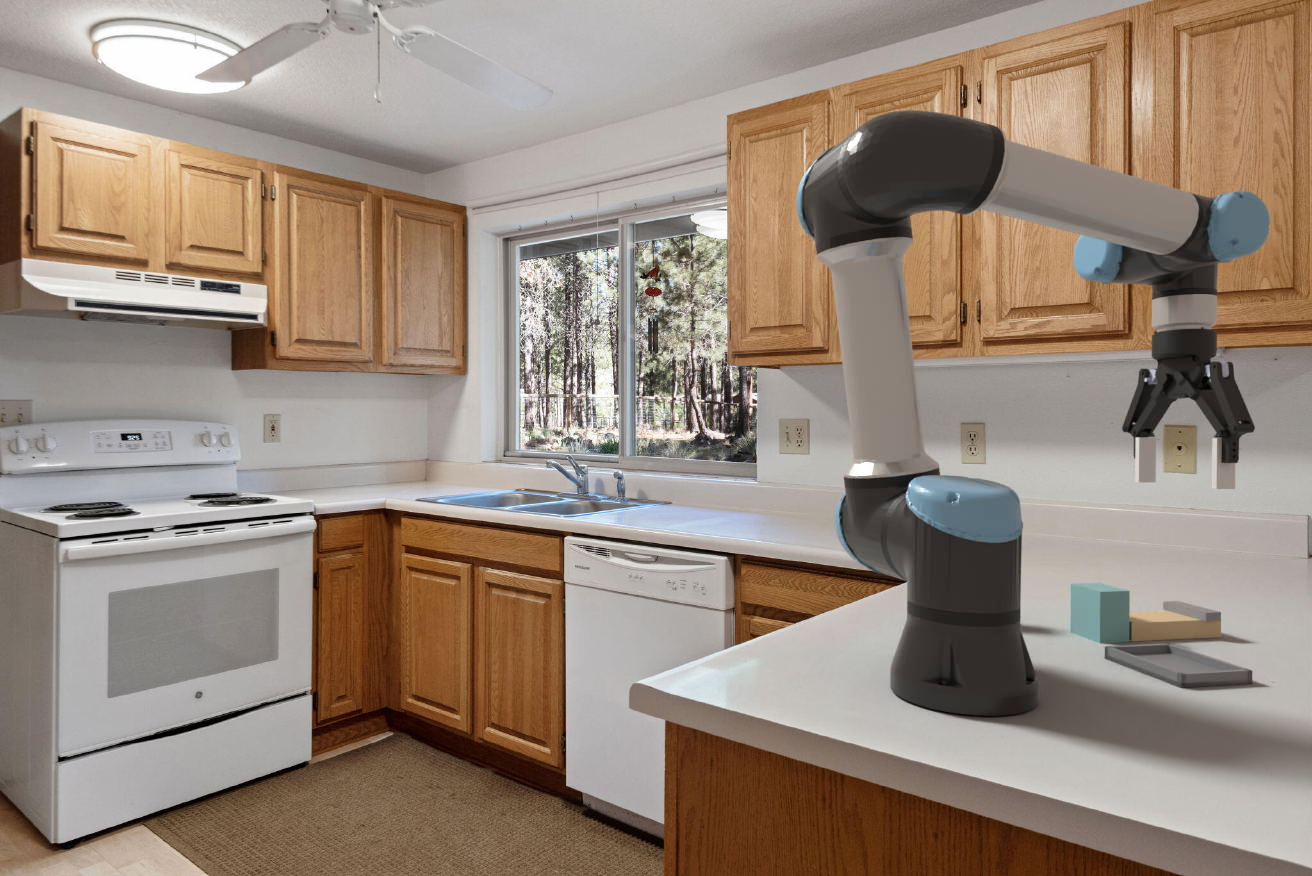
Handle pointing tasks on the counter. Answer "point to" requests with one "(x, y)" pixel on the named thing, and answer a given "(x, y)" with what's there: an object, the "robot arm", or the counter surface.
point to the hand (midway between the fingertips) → (1182, 485)
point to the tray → (1178, 665)
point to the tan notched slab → (1175, 623)
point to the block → (1100, 612)
